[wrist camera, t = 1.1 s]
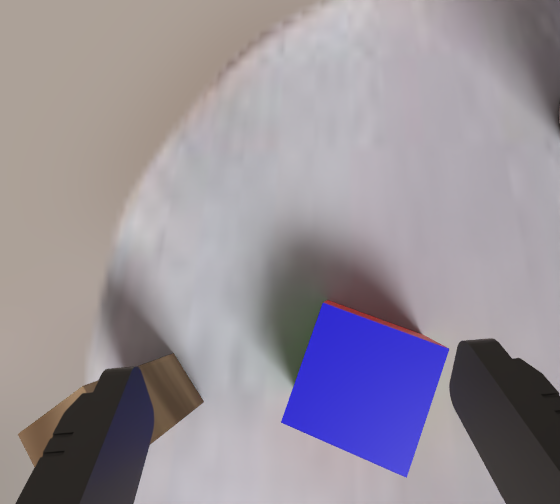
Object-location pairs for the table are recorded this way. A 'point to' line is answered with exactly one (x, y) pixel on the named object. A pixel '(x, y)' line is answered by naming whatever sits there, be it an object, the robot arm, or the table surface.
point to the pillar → (162, 390)
